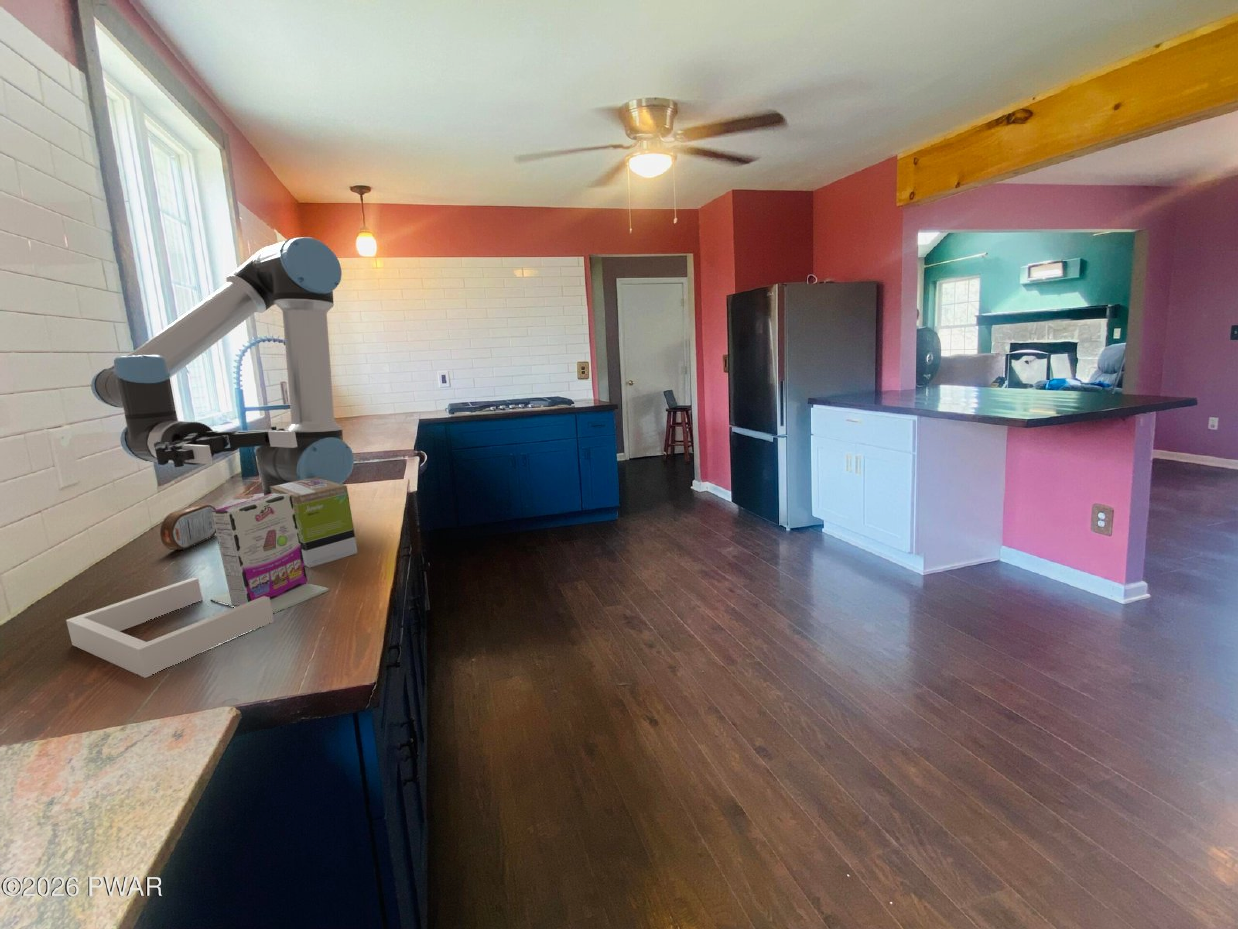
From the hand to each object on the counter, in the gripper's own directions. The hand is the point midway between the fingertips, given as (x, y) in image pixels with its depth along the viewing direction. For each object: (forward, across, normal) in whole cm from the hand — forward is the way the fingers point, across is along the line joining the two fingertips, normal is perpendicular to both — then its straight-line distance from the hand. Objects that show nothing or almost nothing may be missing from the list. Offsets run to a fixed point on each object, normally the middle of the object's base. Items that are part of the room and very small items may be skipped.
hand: (254, 446), depth 95 cm
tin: (-51, -12, -26) cm, 59 cm away
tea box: (-15, -17, -26) cm, 35 cm away
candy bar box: (-3, 0, -26) cm, 26 cm away
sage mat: (-3, 0, -26) cm, 26 cm away
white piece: (-3, +15, -26) cm, 30 cm away
